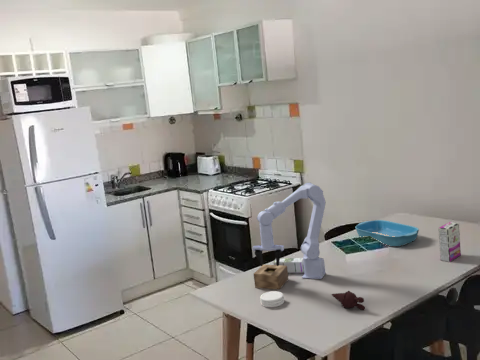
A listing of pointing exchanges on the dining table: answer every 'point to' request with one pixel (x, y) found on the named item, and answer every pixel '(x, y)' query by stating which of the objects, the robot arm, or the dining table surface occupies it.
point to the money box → (271, 276)
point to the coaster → (272, 299)
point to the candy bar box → (449, 241)
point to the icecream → (349, 300)
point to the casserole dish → (388, 232)
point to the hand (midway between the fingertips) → (269, 265)
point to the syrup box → (292, 264)
